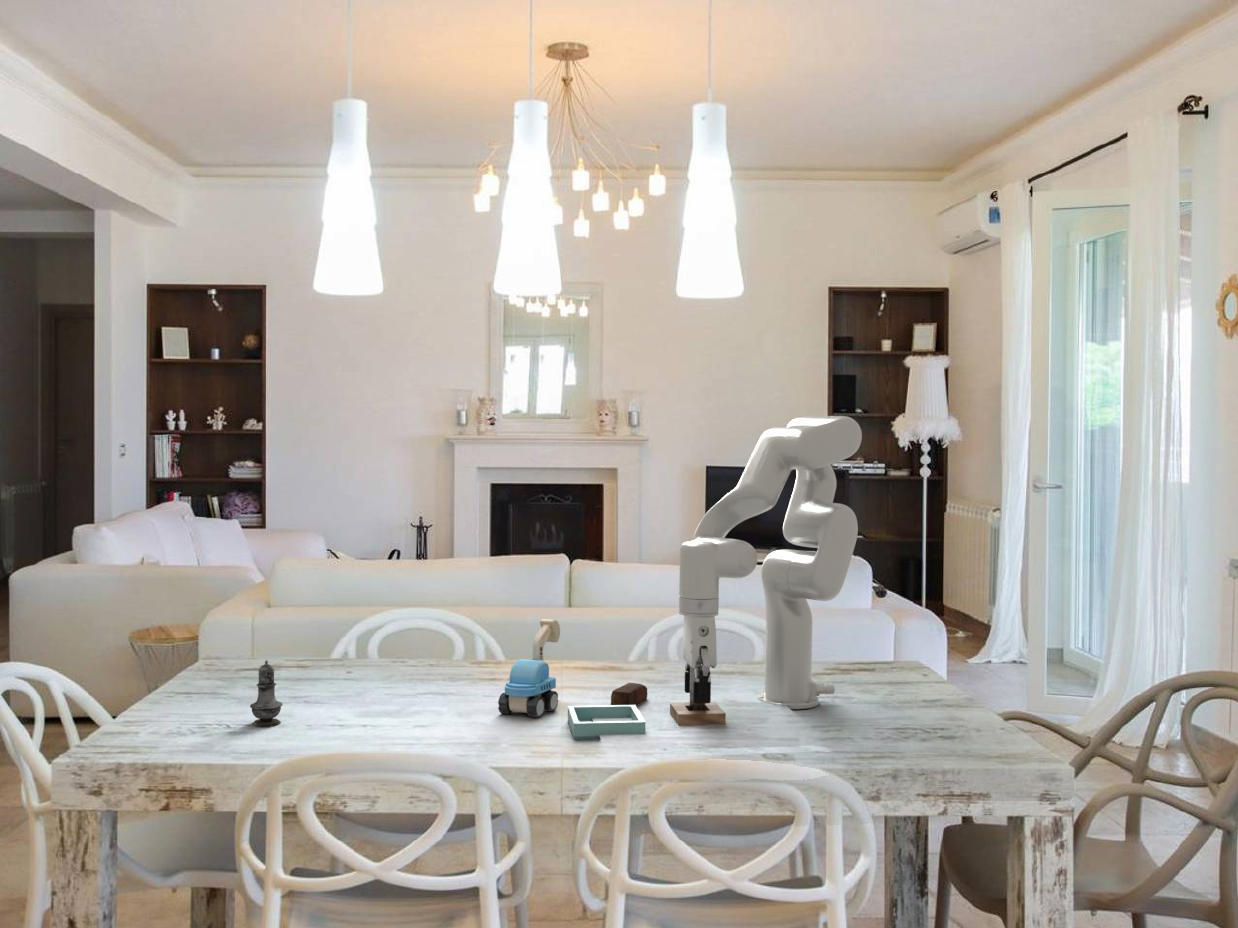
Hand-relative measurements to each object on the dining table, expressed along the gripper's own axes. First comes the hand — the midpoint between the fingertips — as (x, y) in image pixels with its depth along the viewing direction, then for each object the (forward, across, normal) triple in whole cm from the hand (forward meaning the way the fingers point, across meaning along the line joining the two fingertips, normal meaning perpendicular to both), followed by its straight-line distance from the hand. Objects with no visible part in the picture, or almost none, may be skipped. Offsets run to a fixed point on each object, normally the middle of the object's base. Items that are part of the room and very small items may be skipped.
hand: (697, 697), depth 221 cm
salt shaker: (+6, +7, +81) cm, 81 cm away
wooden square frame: (+5, 0, 0) cm, 5 cm away
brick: (+5, +13, +11) cm, 18 cm away
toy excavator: (+5, +14, +30) cm, 33 cm away
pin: (+4, 0, 0) cm, 4 cm away
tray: (+5, -3, +18) cm, 19 cm away
